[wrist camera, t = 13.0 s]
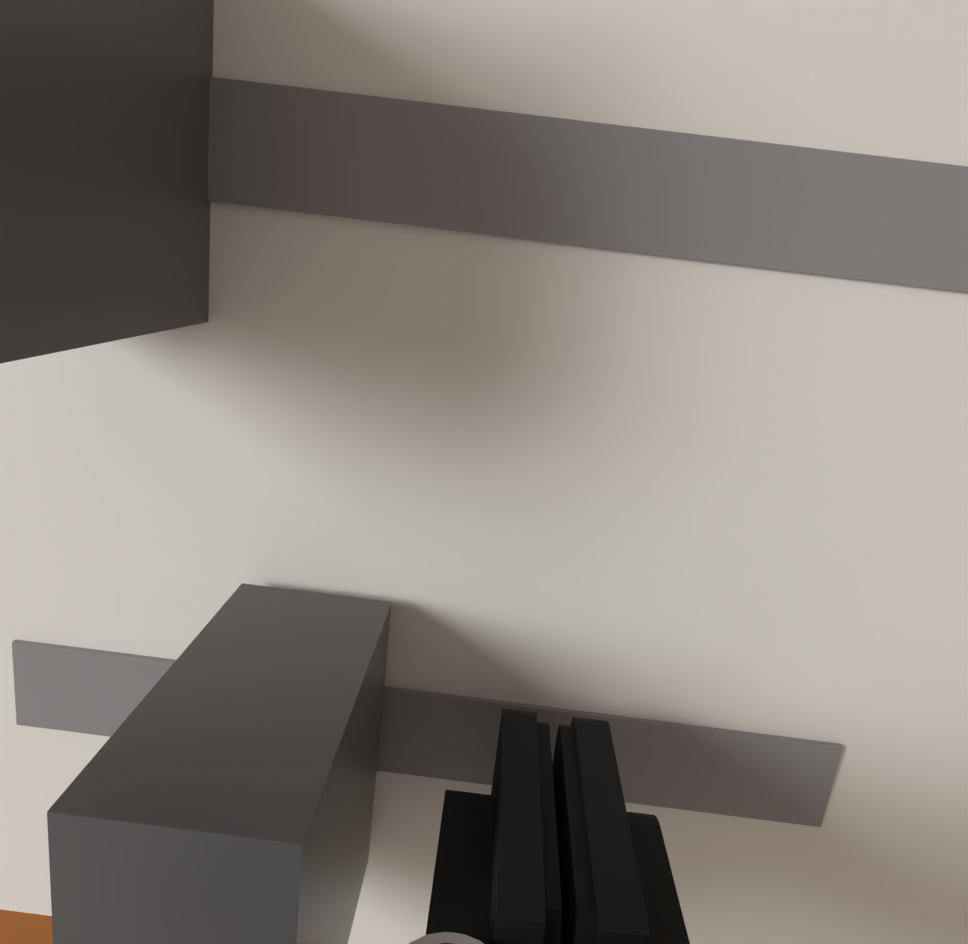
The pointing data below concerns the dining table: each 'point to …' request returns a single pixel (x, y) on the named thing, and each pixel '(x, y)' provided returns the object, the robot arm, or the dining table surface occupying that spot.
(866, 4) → the white slider control panel
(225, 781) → the handle
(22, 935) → the dining table surface
